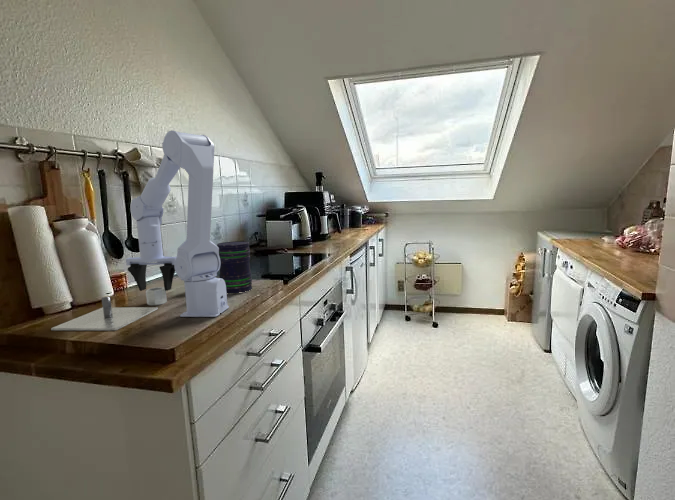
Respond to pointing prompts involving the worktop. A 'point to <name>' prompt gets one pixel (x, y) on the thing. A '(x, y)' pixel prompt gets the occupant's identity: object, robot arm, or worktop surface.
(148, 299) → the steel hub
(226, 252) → the storage jar
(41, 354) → the worktop surface
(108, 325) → the thin grey base plate
